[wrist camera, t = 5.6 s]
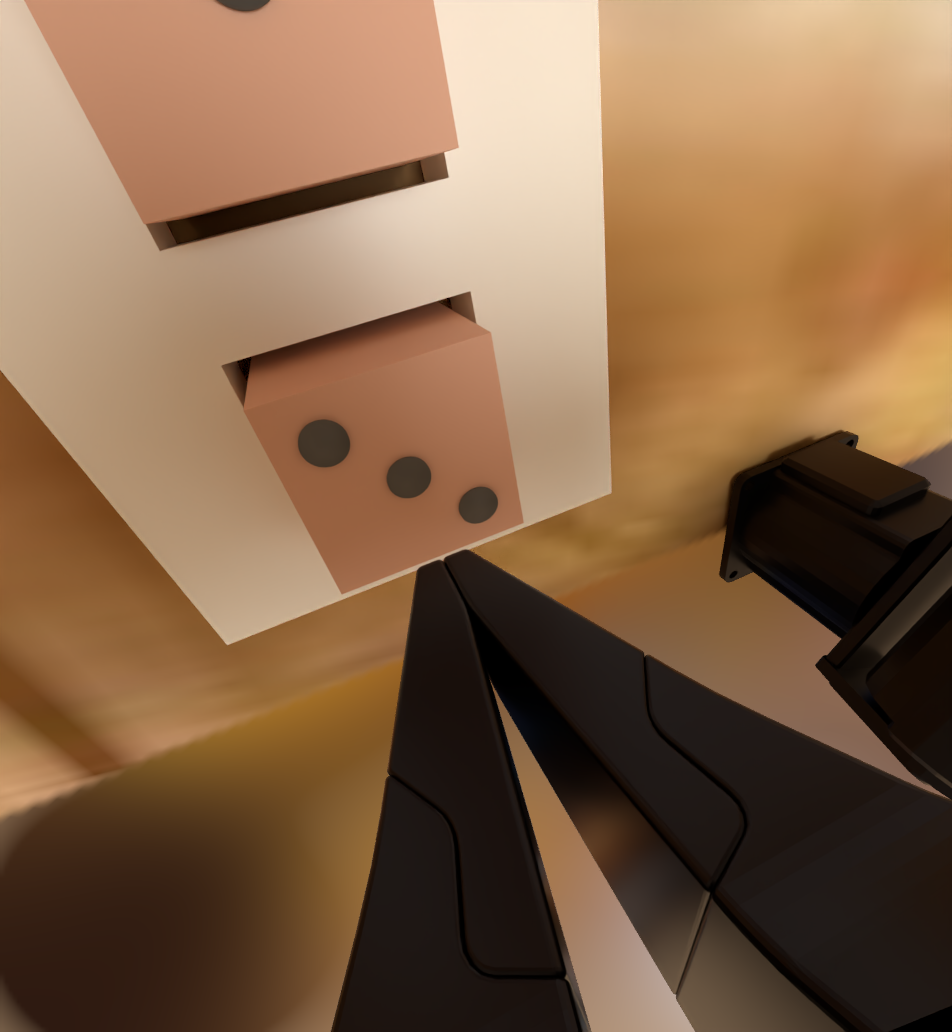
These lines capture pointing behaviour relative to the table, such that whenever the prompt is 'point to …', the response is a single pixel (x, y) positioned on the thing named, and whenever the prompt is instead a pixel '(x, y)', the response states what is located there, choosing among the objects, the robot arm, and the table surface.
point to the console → (307, 301)
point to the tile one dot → (251, 93)
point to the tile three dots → (388, 440)
